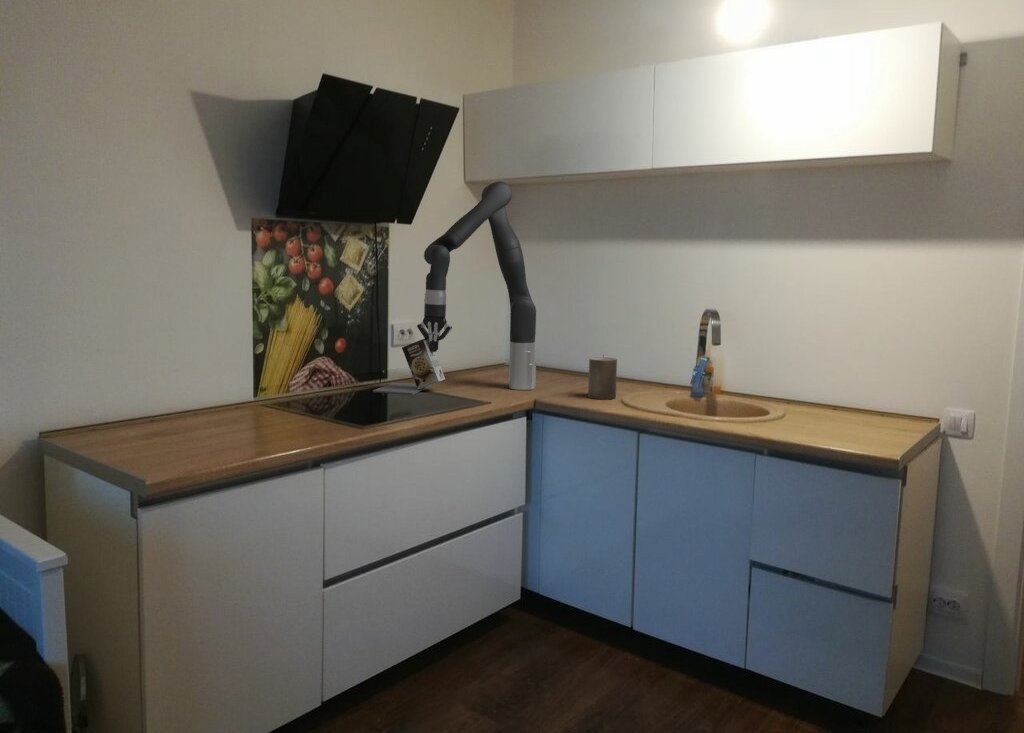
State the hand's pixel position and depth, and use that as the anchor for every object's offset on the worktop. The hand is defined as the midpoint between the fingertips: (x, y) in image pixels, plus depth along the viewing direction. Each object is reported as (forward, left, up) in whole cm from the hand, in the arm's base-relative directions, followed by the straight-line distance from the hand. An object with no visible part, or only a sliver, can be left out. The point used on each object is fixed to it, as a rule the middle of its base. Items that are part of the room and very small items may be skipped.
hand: (433, 351), depth 268 cm
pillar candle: (-59, -10, -15) cm, 61 cm away
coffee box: (+1, 0, -12) cm, 12 cm away
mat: (+12, 0, -14) cm, 18 cm away
